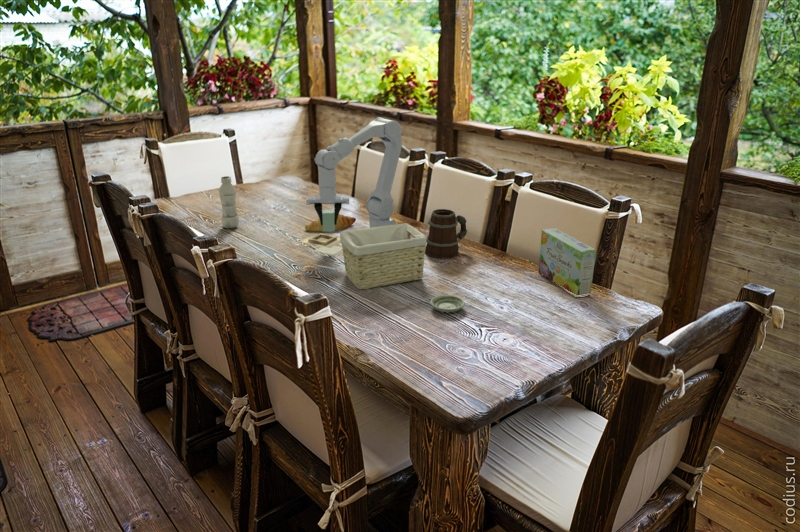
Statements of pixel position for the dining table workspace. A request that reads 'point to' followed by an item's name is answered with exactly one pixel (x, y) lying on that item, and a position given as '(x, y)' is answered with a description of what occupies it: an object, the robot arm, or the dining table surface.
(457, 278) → the dining table surface
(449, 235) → the mug
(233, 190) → the plastic bottle
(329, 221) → the block
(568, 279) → the snack box
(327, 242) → the pocket board
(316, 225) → the croissant
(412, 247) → the storage basket
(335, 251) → the coaster
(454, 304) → the saucer
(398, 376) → the dining table surface
